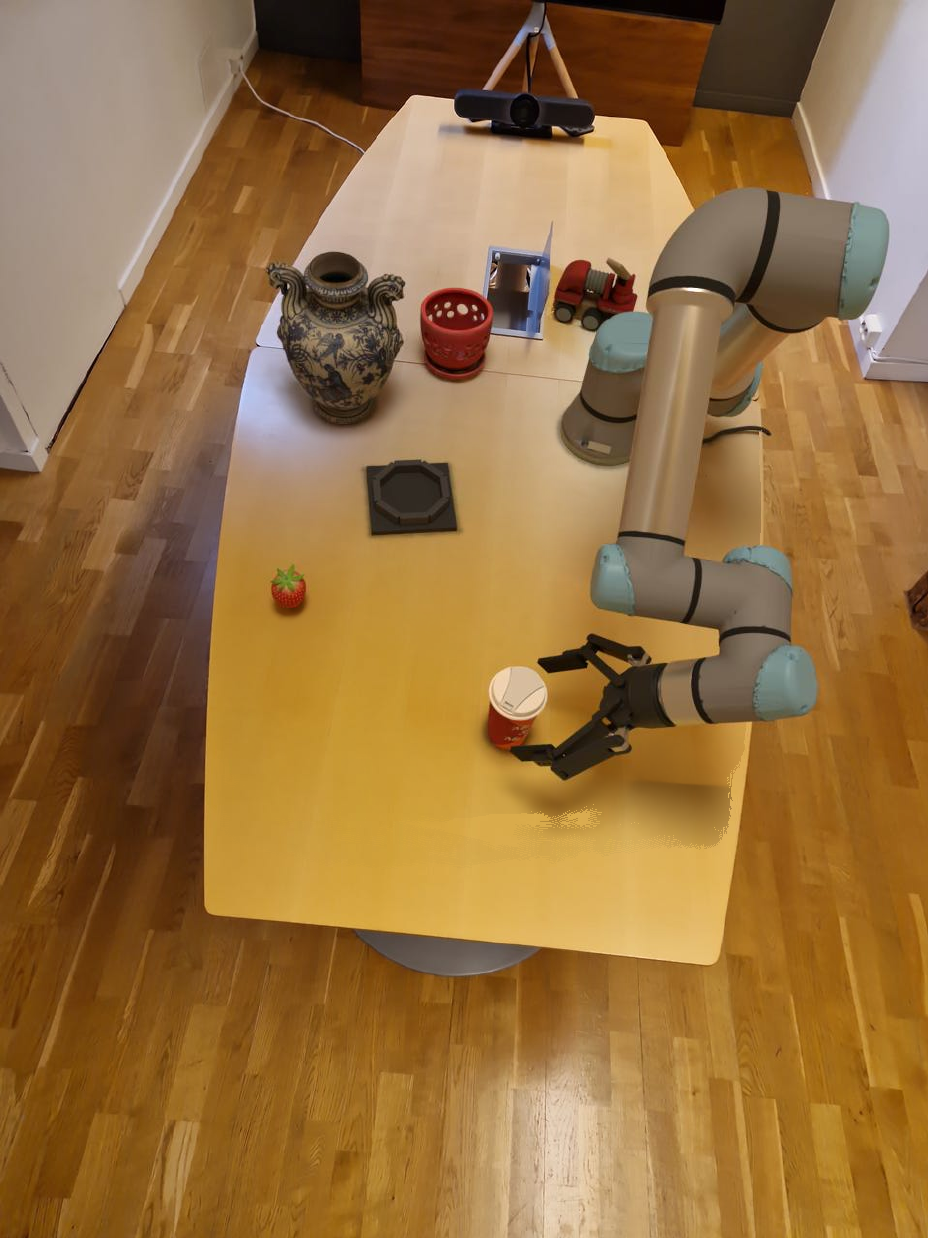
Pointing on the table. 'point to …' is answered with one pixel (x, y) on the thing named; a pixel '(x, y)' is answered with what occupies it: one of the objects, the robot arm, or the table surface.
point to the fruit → (288, 588)
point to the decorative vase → (338, 332)
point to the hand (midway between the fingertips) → (530, 708)
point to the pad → (410, 498)
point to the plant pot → (455, 332)
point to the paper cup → (514, 705)
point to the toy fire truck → (593, 294)
